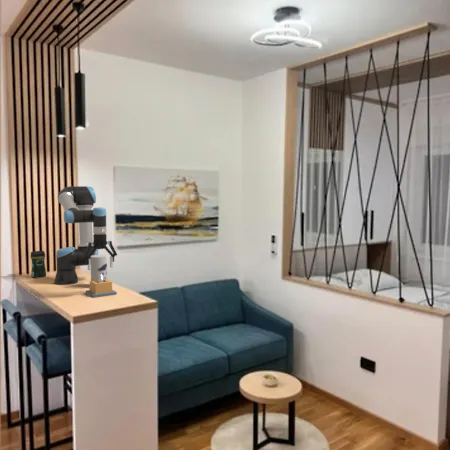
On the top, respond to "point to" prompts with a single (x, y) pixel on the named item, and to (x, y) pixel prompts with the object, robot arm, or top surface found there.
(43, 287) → the top surface
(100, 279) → the keeper
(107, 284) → the cardboard box
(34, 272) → the coffee jar
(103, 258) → the container
